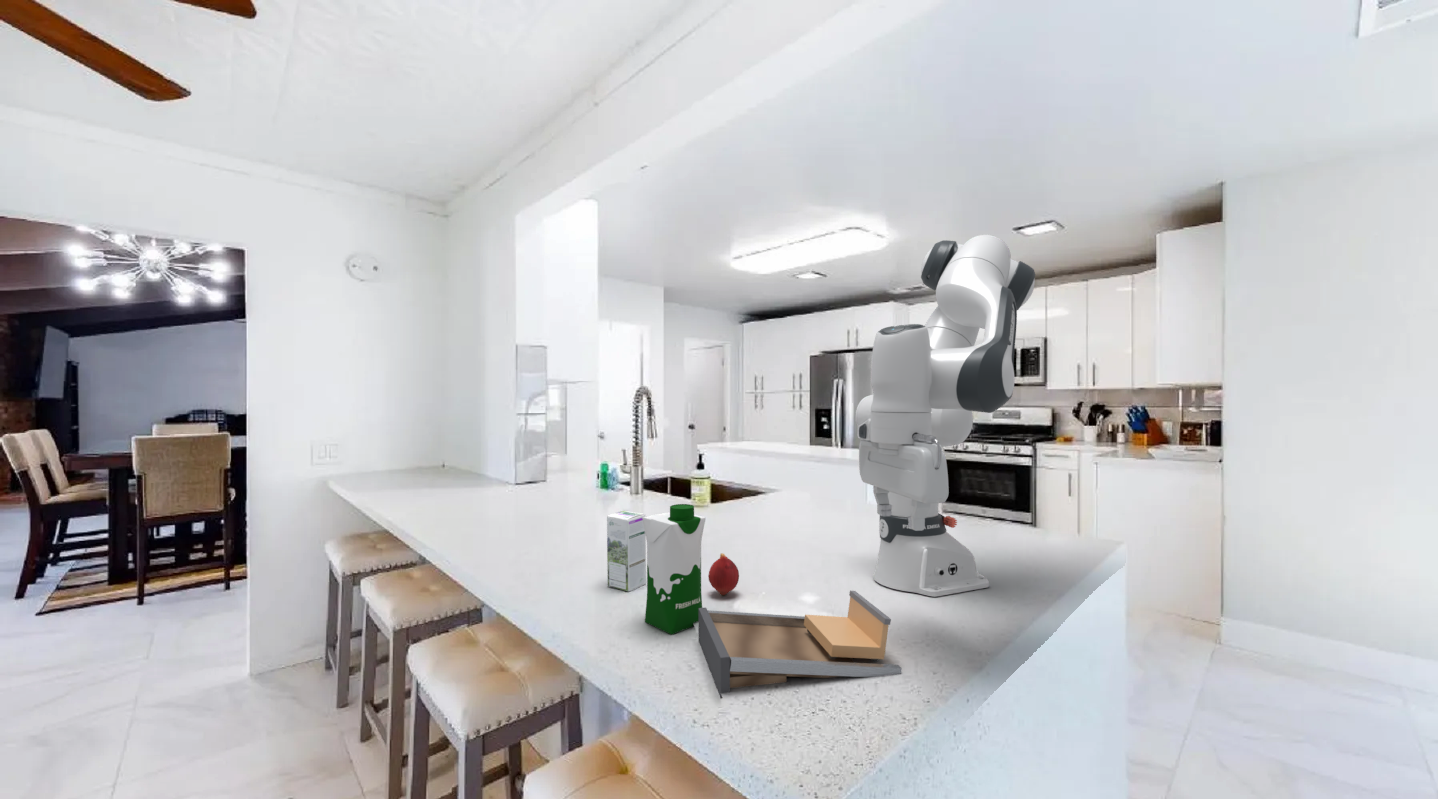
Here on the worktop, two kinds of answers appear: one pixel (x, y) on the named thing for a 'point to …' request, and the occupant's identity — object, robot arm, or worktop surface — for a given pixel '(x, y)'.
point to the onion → (723, 575)
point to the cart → (852, 631)
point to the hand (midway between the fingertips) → (899, 522)
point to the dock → (769, 651)
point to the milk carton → (673, 568)
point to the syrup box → (626, 550)
